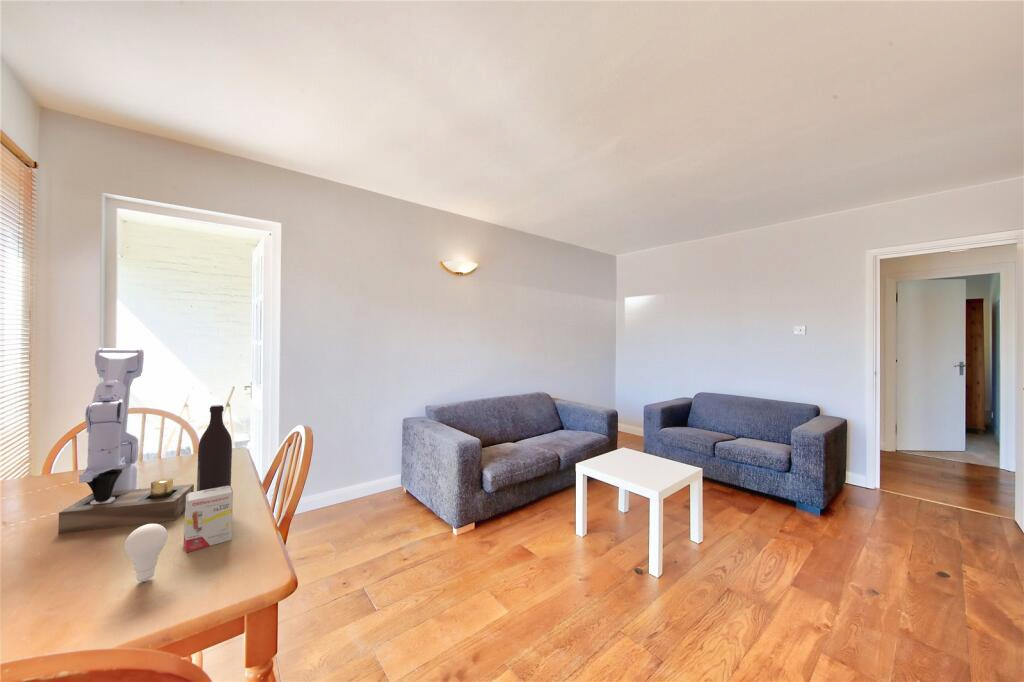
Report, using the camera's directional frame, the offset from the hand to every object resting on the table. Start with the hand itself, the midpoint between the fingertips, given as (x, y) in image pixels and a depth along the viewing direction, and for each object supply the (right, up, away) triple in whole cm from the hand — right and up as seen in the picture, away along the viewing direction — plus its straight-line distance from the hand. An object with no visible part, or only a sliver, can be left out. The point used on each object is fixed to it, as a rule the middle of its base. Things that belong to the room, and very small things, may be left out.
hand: (102, 500), depth 97 cm
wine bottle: (+27, -6, +2) cm, 28 cm away
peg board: (+5, -5, +2) cm, 8 cm away
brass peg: (+11, -2, +4) cm, 12 cm away
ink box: (+34, -6, -9) cm, 36 cm away
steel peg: (0, -5, 0) cm, 5 cm away
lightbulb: (+34, -6, -23) cm, 41 cm away
